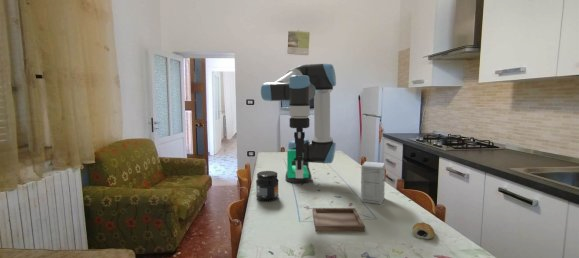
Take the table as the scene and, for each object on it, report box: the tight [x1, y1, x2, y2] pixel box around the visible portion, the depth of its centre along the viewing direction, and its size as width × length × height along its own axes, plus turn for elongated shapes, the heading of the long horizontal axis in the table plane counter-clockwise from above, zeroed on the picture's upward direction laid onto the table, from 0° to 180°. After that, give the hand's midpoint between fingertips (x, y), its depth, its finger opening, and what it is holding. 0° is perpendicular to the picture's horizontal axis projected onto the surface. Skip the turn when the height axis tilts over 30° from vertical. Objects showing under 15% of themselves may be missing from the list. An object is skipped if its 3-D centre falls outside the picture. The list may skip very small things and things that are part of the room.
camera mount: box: [286, 149, 309, 178], centre depth 108 cm, size 12×8×10 cm, turn 2°
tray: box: [312, 207, 366, 233], centre depth 108 cm, size 16×17×2 cm
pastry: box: [411, 222, 435, 240], centre depth 99 cm, size 9×7×4 cm
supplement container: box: [255, 170, 279, 202], centre depth 133 cm, size 10×10×12 cm
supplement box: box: [360, 161, 386, 205], centre depth 130 cm, size 10×9×17 cm
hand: (299, 173), depth 108 cm, fingers closed on camera mount, 12 cm apart
